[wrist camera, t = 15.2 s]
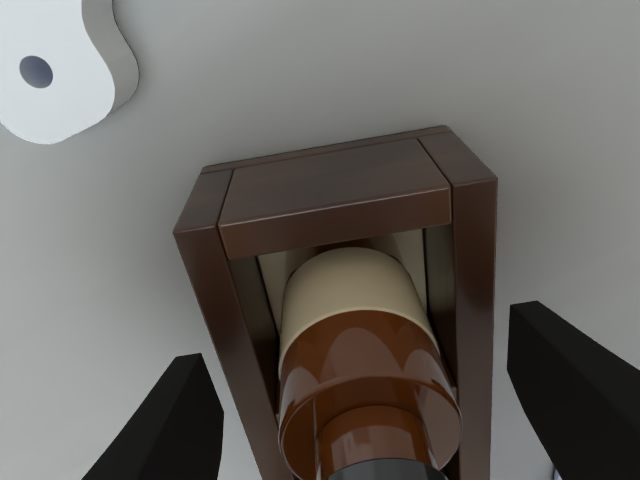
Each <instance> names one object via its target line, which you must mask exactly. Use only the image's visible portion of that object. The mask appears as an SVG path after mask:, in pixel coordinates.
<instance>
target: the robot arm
mask: <svg viewBox="0 0 640 480" xmlns="http://www.w3.org/2000/svg"><path fill="white" fill-rule="evenodd" d="M507 371H508V374H509V376H510V379H511V381H512V384H513V386H514V389H515V391H516V394H517V396H518V398H519V401H520V403H521V406H522V408H523V410H524V412H525V414H526V416H527V418H528V420H529V421H530V423H531V425H532V427H533V429H534V430H535V432H536V434H537V436H538V438H539V440H540V441H541V443H542V445H543V447H544V448H545V450H546V452H547V454H548V456H549V457H550V459H551V461H552V463H553V464H554V466H555V468H556V470H555V475H554V480H640V370H638V369H637V368H635V367H633V366H632V365H630V364H629V363H627V362H626V361H624V360H622V359H621V358H619V357H618V356H616V355H615V354H613V353H612V352H610V351H609V350H607V349H606V348H604V347H603V346H601V345H600V344H598V343H597V342H596V341H594V340H593V339H591V338H590V337H588V336H587V335H585V334H584V333H583V332H581V331H580V330H578V329H577V328H575V327H574V326H573V325H571V324H570V323H568V322H567V321H566V320H564V319H563V318H561V317H560V316H558V315H557V314H556V313H554V312H553V311H551V310H550V309H549V308H547V307H546V306H544V305H543V304H541V303H540V302H538V301H531V302H525V303H518V304H512V305H510V317H509V338H508V359H507ZM223 423H224V411H223V408H222V406H221V403H220V401H219V398H218V395H217V393H216V390H215V388H214V385H213V383H212V380H211V377H210V375H209V372H208V370H207V367H206V364H205V362H204V359H203V357H202V354H201V353H197V354H191V355H184V356H178V357H175V359H174V360H173V361H172V363H171V364H170V365H169V367H168V368H167V369H166V371H165V372H164V373H163V375H162V376H161V377H160V379H159V380H158V382H157V383H156V384H155V386H154V387H153V389H152V390H151V391H150V393H149V394H148V395H147V397H146V398H145V400H144V401H143V402H142V404H141V405H140V406H139V408H138V409H137V410H136V412H135V413H134V414H133V416H132V417H131V418H130V420H129V421H128V422H127V424H126V425H125V426H124V428H123V429H122V430H121V432H120V433H119V434H118V436H117V437H116V438H115V439H114V441H113V442H112V443H111V444H110V446H109V447H108V448H107V449H106V450H105V452H104V453H103V454H102V455H101V457H100V458H99V459H98V460H97V462H96V463H95V464H94V465H93V466H92V468H91V469H90V470H89V471H88V473H87V474H86V475H85V476H84V477H83V478H82V479H81V480H217V477H218V472H219V466H220V460H221V454H222V440H223Z"/></svg>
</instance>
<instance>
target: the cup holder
mask: <svg viewBox="0 0 640 480" xmlns="http://www.w3.org/2000/svg"><path fill="white" fill-rule="evenodd" d="M497 189H498V178H497V176H496V175H495V174H494V173H493V172H492V171H491V170H490V169H489V168H488V167H487V166H486V165H485V164H484V163H483V162H482V161H481V160H480V159H479V158H478V157H477V156H476V155H475V154H474V153H473V152H472V151H471V150H470V149H469V148H468V147H467V146H466V145H465V144H464V143H463V142H462V141H461V140H460V139H459V138H458V137H457V136H456V135H455V134H454V133H453V132H452V131H451V130H450V129H449V128H448V127H447V126H440V127H434V128H429V129H423V130H417V131H411V132H405V133H400V134H394V135H388V136H382V137H376V138H371V139H365V140H359V141H353V142H347V143H341V144H336V145H330V146H324V147H318V148H312V149H307V150H301V151H295V152H289V153H283V154H278V155H272V156H266V157H260V158H254V159H248V160H243V161H237V162H231V163H225V164H219V165H214V166H208V167H204V168H203V169H202V171H201V173H200V175H199V177H198V179H197V181H196V183H195V185H194V187H193V190H192V192H191V194H190V196H189V198H188V200H187V202H186V204H185V207H184V209H183V211H182V213H181V215H180V217H179V219H178V221H177V223H176V226H175V228H174V230H173V235H174V238H175V240H176V243H177V246H178V249H179V251H180V254H181V257H182V260H183V262H184V265H185V268H186V270H187V273H188V276H189V279H190V281H191V284H192V287H193V290H194V292H195V295H196V298H197V301H198V303H199V306H200V309H201V312H202V314H203V317H204V320H205V323H206V325H207V328H208V331H209V334H210V336H211V339H212V342H213V345H214V347H215V350H216V353H217V356H218V358H219V361H220V364H221V367H222V369H223V372H224V375H225V378H226V380H227V383H228V386H229V389H230V391H231V394H232V397H233V400H234V402H235V405H236V408H237V411H238V413H239V416H240V419H241V422H242V424H243V427H244V430H245V433H246V435H247V438H248V441H249V444H250V446H251V449H252V452H253V455H254V457H255V460H256V463H257V465H258V468H259V471H260V474H261V476H262V479H263V480H301V479H300V478H298V477H297V476H296V475H295V474H294V473H293V472H292V471H291V470H290V469H289V468H288V466H287V465H286V463H285V462H284V459H283V457H282V455H281V452H280V449H279V444H278V430H279V402H280V379H279V345H280V321H281V301H282V295H283V292H284V266H285V256H286V252H287V251H289V250H295V249H301V248H307V247H313V246H320V245H326V244H332V243H338V242H344V241H350V240H356V239H362V238H368V237H375V236H381V235H387V234H392V235H393V236H394V238H395V240H396V242H397V244H398V247H399V250H400V252H401V255H402V258H403V260H404V263H405V266H406V268H407V271H408V273H409V274H410V276H411V278H412V280H413V281H414V284H415V287H416V289H417V292H418V295H419V297H420V300H421V302H422V305H423V308H424V310H425V313H426V315H427V318H428V321H429V323H430V326H431V329H432V331H433V334H434V336H435V339H436V342H437V344H438V348H439V351H440V358H441V361H442V364H443V367H444V369H445V372H446V375H447V377H448V380H449V383H450V385H451V388H452V391H453V393H454V396H455V399H456V401H457V404H458V407H459V409H460V412H461V416H462V422H463V429H462V437H461V440H460V444H459V446H458V448H457V450H456V452H455V454H454V455H453V457H452V458H451V459H450V460H449V462H448V463H447V464H446V465H445V466H444V467H443V468H442V469H440V470H439V471H440V472H442V473H443V474H444V475H445V476H446V477H447V478H448V479H449V480H490V444H491V407H492V371H493V335H494V298H495V262H496V226H497Z"/></svg>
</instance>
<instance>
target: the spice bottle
mask: <svg viewBox="0 0 640 480" xmlns="http://www.w3.org/2000/svg"><path fill="white" fill-rule="evenodd" d="M279 379H280V402H279V430H278V444H279V449H280V452H281V455H282V457H283V459H284V462H285V463H286V465H287V466H288V468H289V469H290V470H291V471H292V472H293V473H294V474H295V475H296V476H297V477H298V478H300V479H301V480H449V479H448V478H447V477H446V476H445V475H444V474H443V473H442V472H440V471H439V470H440V469H442V468H443V467H444V466H445V465H446V464H447V463H448V462H449V460H450V459H451V458H452V457H453V455H454V454H455V452H456V450H457V448H458V446H459V444H460V440H461V437H462V429H463V422H462V416H461V412H460V409H459V407H458V404H457V401H456V399H455V396H454V393H453V391H452V388H451V385H450V383H449V380H448V377H447V375H446V372H445V369H444V367H443V364H442V361H441V358H440V351H439V348H438V344H437V342H436V339H435V336H434V334H433V331H432V329H431V326H430V323H429V321H428V318H427V315H426V313H425V310H424V308H423V305H422V302H421V300H420V297H419V295H418V292H417V289H416V287H415V284H414V281H413V280H412V278H411V276H410V274H409V273H408V271H407V268H406V266H405V263H404V260H403V258H402V255H401V252H400V250H399V247H398V244H397V242H396V240H395V238H394V236H393V235H392V234H387V235H381V236H375V237H368V238H362V239H356V240H350V241H344V242H338V243H332V244H326V245H320V246H313V247H307V248H301V249H295V250H289V251H287V252H286V256H285V266H284V292H283V295H282V301H281V321H280V345H279Z"/></svg>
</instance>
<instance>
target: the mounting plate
mask: <svg viewBox="0 0 640 480" xmlns="http://www.w3.org/2000/svg"><path fill="white" fill-rule="evenodd" d="M138 82H139V70H138V65H137V61H136V59H135V57H134V55H133V53H132V51H131V49H130V48H129V46H128V44H127V43H126V41H125V39H124V38H123V36H122V34H121V33H120V31H119V29H118V27H117V25H116V23H115V20H114V16H113V11H112V0H0V122H1V123H2V124H3V125H4V126H5V127H6V128H7V129H8V130H9V131H11V132H12V133H14V134H15V135H16V136H18V137H20V138H22V139H24V140H27V141H29V142H33V143H38V144H54V143H57V142H60V141H63V140H65V139H67V138H69V137H71V136H73V135H75V134H77V133H79V132H81V131H83V130H85V129H87V128H89V127H91V126H93V125H95V124H97V123H98V122H99V121H101V120H102V119H104V118H105V117H106V116H108V115H109V114H110V113H112V112H113V111H114V110H116V109H117V108H118V107H120V106H121V105H122V104H123V103H125V102H126V101H127V100H129V99H130V98H131V97H132V95H133V94H134V92H135V91H136V88H137V85H138Z"/></svg>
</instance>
